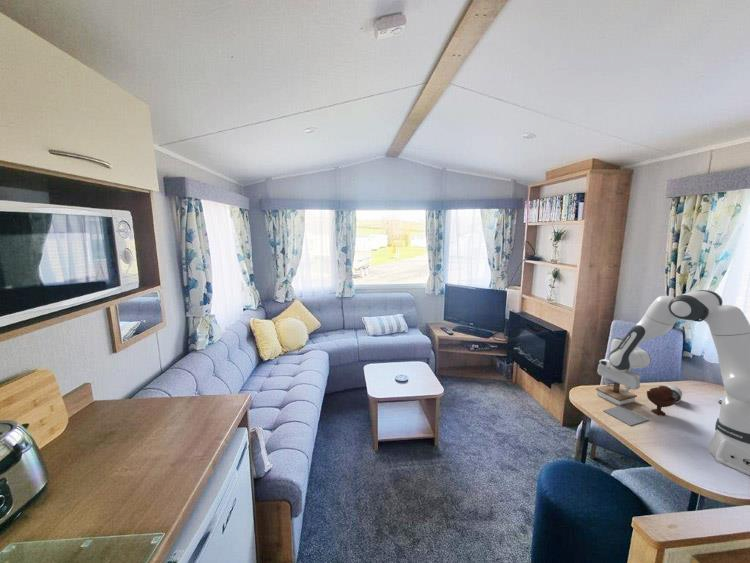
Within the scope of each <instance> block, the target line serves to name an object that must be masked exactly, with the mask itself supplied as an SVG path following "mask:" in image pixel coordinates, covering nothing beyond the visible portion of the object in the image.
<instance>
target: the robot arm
mask: <svg viewBox="0 0 750 563" xmlns="http://www.w3.org/2000/svg"><path fill="white" fill-rule="evenodd" d="M723 303H724V302H723V299H722V297H721V296H720V294H718V293H717V292H714V291H712V290H706V289H705V290H704V289H703V290H701V289H700V290H696V291H689V292H685V293H683V294H679V295H677V296H675V297H674V296H670V295H660V296H658V297H657V298H655V299H654V300H653V301H652V303H651V304H650V305H649V307H648V308H647V309H646V312H645V313H644V315H643V316H642V318H641V319H640V320H639V321H638V322H637V323H635V325H634V326H633V327H632V328H630V330H629V331H628V332H627V333H626V335H624V337H621V336H620V337H614V338H612V340H611V343H610V344H611V345H610V350H609V351H610V353H609V355H608V358H604V359H599V361H598V362H599V364H598V366H597V375H599V376H602V377H603V380H604V383H605V385H604V386H607V385H608V386H609V385H611V382H610V381H609V380H611V381H613V382H617V383H619V384H620V385H622V386H624V387H625V388H624V390H623V393H625V394H628V392H630V390H634V391H636V390H639V389H640V387H641V382H640V379H641V375H640V374H639V373H638V372H636V371H633V370H632V369H643V368H647V367H649V366H650V365H651V361H652V359H651V358H652V357H651V355H650V354H649V352H648V351H646V350H645V349H643V348H641V347H639V345H640V344H642V342H645V341H648V340H650V339H653V338H657V337H661V336H665V335H666V334H667V333H669V331H671V330H672V329H673V327H674V326H675V324H676V322H677V321H678V320H679V319H681V320H685V321H692V322H693V321H694V322H703V321H704V322H705V323H706V324H707V325H708V328H709V330H710V334H711V337H712V340H713V344H714V347H715V349H716V353H717V358H718V364H719V370H720V375H721V378H722V383H723V388H724V393H723V397H722V400H721V405H720V410H719V416H718V418H717V419H716V422H715V427H714V429H715V433H714V435H713V437H712V440H711V441H710V443H709V444H708V445H707V450H708V451H709V452H710V453H711V454H712V455H713V456H714V458H715V461H717V462H718V463H720V464H722V465H724V466H727V467H729V468H732V469H733V470H736V471H739V472H740V473H743V474H746V475H748V476H750V322H749V320H748V317H746V315H745V313H744V312H743V310H741V308H739V307H737V306H734V305H727V304H726V305H725V304H723Z"/></svg>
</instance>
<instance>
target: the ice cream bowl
mask: <svg viewBox="0 0 750 563" xmlns="http://www.w3.org/2000/svg"><path fill="white" fill-rule="evenodd" d="M667 386H668V385H667ZM667 386H666V385H660V386H658V387H652V388H650V389H649V390H647V391H646V397H647V399H648V401H650V402H651V403H652V404H654V405H655V406H656V408H652V409H651V413H652V414H654V415H657V416H660V417H665V416H666V412H665V411H663V410H662V408H668V407H671V406H673V405H674V404H676V403H675V401H676V400H675V398H674V397H673V391H672V390H671V389H670V388H669V387H667Z"/></svg>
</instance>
